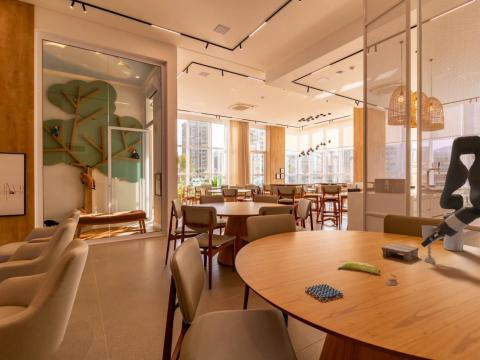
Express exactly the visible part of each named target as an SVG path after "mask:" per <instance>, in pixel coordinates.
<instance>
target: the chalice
mask: <svg viewBox="0 0 480 360" xmlns="http://www.w3.org/2000/svg"><path fill="white" fill-rule="evenodd" d="M420 227H421V236H422V239H423V242H424V241H425V240H426V238H428V237H429V236H430V235H431V234H433V233H434V232H435V231H437V230H438V229H437V228H438V227H437V226H436V225H435V226H434V225H425V224H424V225H420ZM430 240H433V239H432V238H430ZM433 242H434V241H433ZM433 242H432V243H430V244H428V245H427V256H425V257H424V259H423V262H425V263H428V264H435V263H437V262H436V261H435V258H434V257H433V256H431V255H432V254H431V253H432V251H431V250H432V247H431V245H433V244H434V243H435V242H434V243H433Z"/></svg>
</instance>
